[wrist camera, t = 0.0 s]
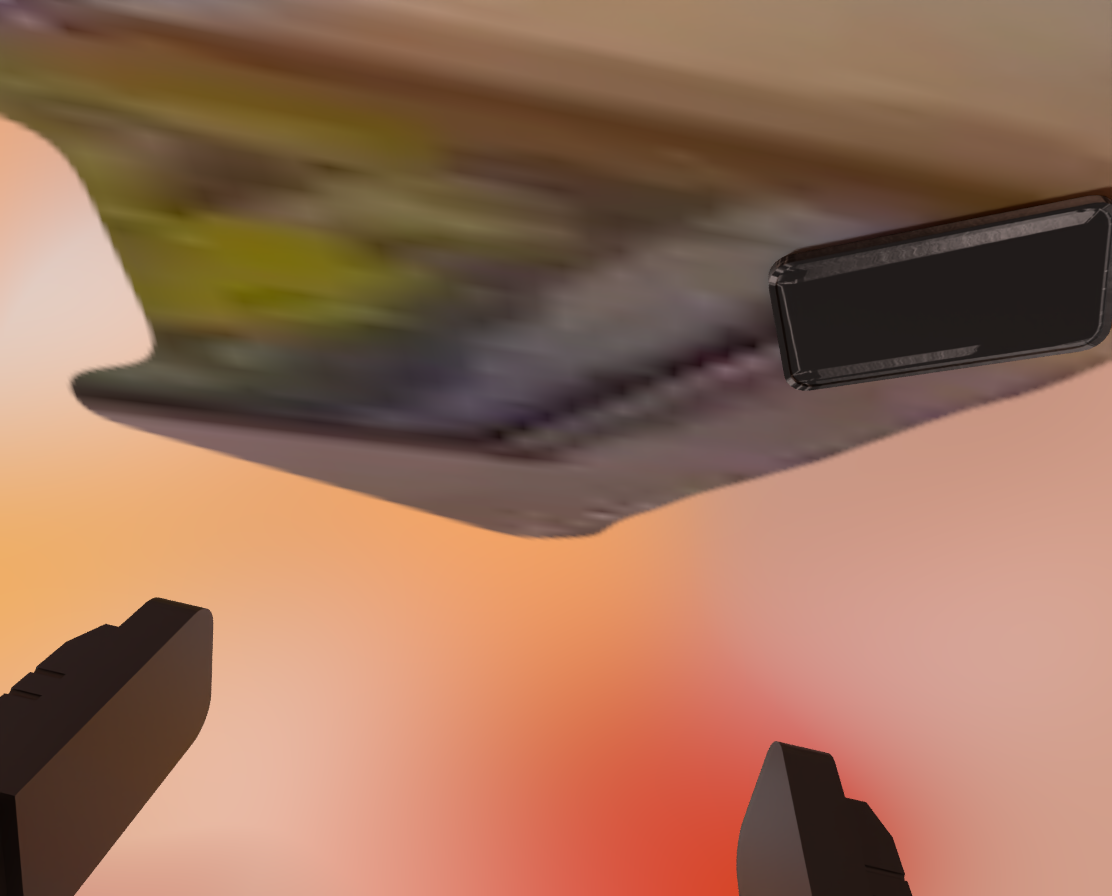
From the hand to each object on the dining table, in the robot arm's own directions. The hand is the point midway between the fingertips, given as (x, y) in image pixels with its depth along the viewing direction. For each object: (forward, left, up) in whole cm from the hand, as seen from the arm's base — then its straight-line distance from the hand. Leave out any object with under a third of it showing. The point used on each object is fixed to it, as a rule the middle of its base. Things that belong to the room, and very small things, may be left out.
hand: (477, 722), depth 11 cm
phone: (+16, +6, -32) cm, 37 cm away
